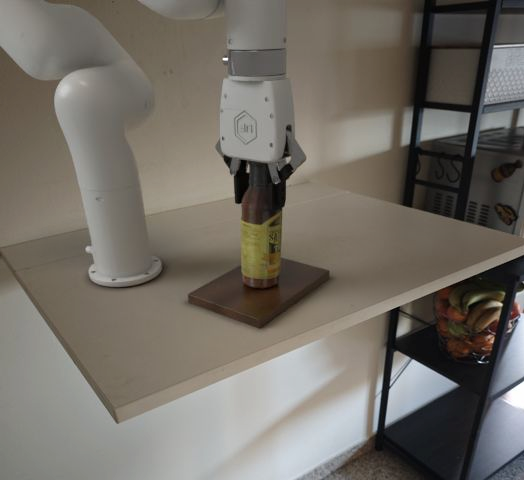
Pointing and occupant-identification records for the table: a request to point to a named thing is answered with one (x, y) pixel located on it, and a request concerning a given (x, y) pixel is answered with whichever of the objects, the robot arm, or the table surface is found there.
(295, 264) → the serving board
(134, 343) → the table surface
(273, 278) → the sauce bottle
